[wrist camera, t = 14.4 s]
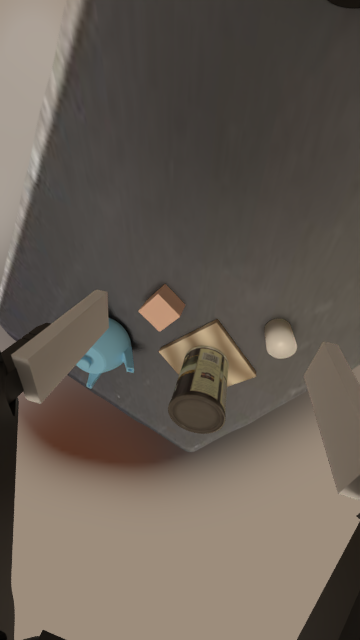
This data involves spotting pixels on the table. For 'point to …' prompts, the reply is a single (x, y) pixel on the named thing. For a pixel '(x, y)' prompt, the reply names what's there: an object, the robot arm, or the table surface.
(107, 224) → the table surface
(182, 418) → the coffee can
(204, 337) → the birch board
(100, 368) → the teapot
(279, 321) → the off-white cylinder
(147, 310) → the terracotta block
